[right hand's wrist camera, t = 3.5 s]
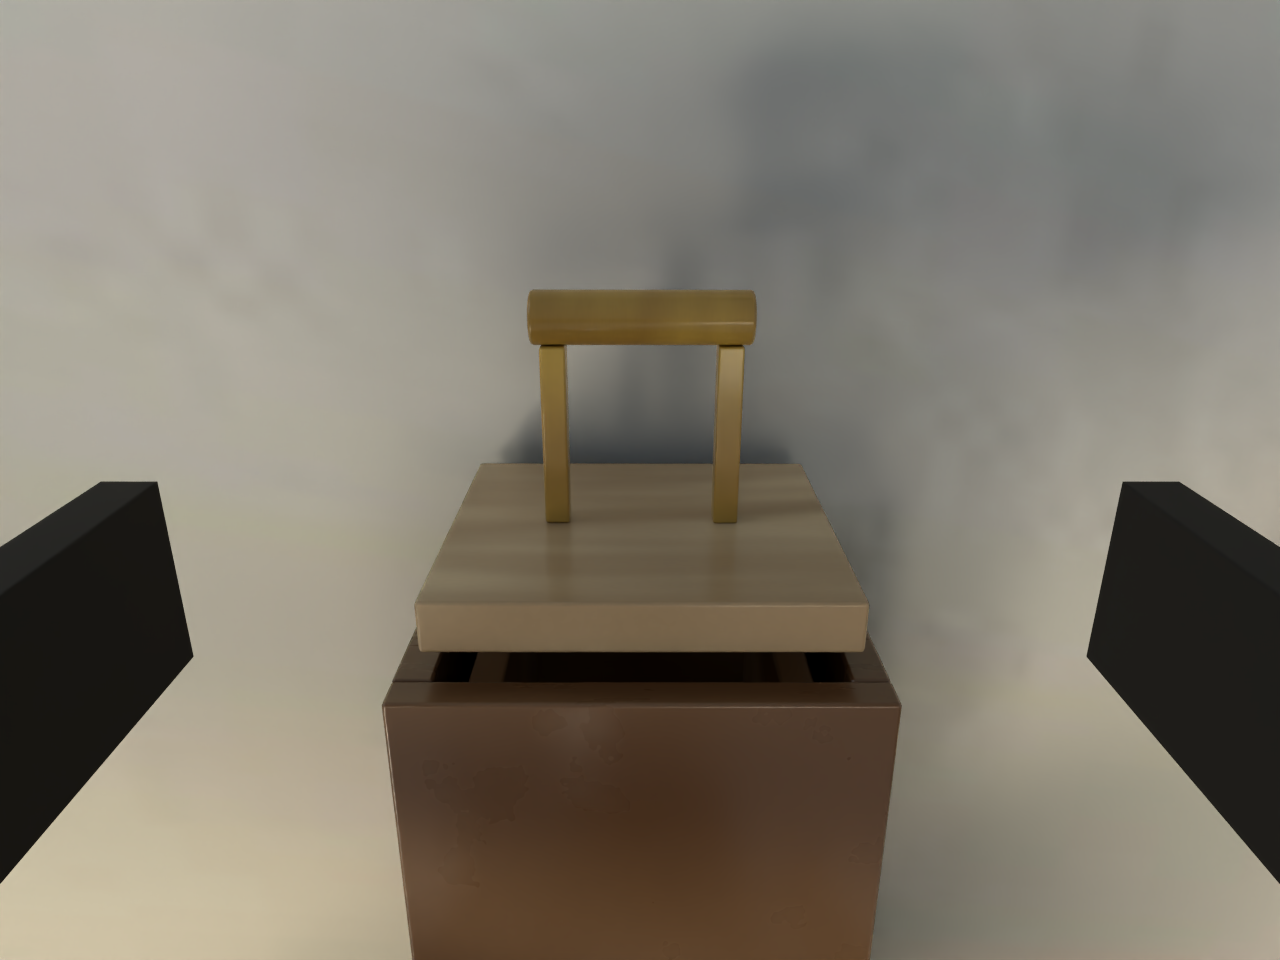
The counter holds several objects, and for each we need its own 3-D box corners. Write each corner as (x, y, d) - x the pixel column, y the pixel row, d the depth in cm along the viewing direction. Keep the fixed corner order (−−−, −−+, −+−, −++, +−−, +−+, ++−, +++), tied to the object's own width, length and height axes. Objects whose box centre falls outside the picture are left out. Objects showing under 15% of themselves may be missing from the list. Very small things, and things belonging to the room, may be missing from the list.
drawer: (467, 264, 24) (385, 328, 16) (815, 265, 24) (899, 328, 16) (512, 948, 33) (473, 1201, 25) (767, 947, 33) (807, 1201, 25)
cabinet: (469, 507, 28) (380, 704, 18) (811, 507, 28) (903, 704, 18) (503, 984, 35) (452, 1306, 25) (775, 984, 35) (827, 1305, 25)
